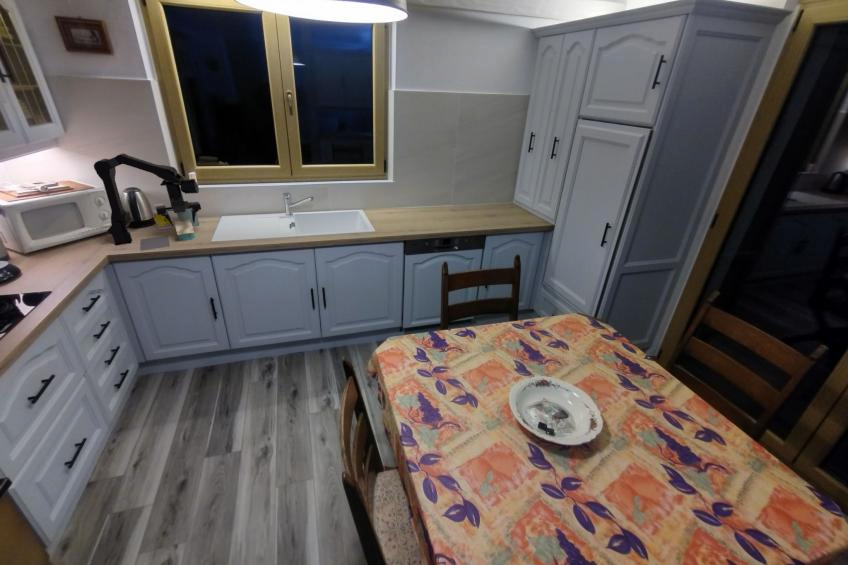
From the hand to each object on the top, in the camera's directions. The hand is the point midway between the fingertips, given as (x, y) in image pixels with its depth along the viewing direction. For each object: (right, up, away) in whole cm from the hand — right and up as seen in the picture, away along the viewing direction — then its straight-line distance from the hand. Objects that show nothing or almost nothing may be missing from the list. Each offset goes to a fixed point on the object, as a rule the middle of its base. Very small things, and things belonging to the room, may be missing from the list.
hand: (183, 224), depth 194 cm
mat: (-12, -10, -3) cm, 16 cm away
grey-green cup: (-10, +3, +21) cm, 24 cm away
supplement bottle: (-21, +1, +17) cm, 27 cm away
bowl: (0, -7, +3) cm, 8 cm away
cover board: (0, -2, +1) cm, 3 cm away
